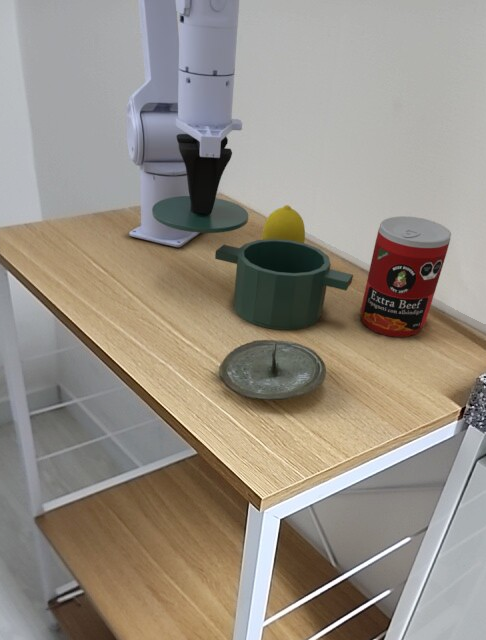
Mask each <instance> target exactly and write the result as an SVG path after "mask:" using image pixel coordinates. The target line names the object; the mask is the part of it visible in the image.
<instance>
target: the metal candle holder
mask: <svg viewBox="0 0 486 640" xmlns="http://www.w3.org/2000/svg"><path fill="white" fill-rule="evenodd" d="M326 373H327V367H326V364H325V361H324V360H323V359H322V358H321V356H320V355H318V353H317V352H316V351H315V350H313V349H312V348H310V347H308V346H306V345H302V344H300V343H297V342H293V341H289V340H288V341H284V340H279V339H278V340H277V339H276V340H274V339H271V340H270V339H259V340H258V339H257V340H253V341H250V342H246V343H244V344H241V345H240V346H237V347H235V348H234V349H233V350H232V351H230V352H229V353H227V355H226V356H225V358H223V360H222V361H221V363H220V365H219V368H218V377H219V378H220V380H221V381H222V383H223V385H224V386H225V387H226V388H227V389H229V390H230V391H232V392H233V393H236V394H237V395H239V396H242V397H244V398H246V399H251V400H257V401H265V402H281V401H289V400H294V399H297V398H300V397H302V396H305V395H308V394H311V393H312V392H314V391H315V390H317V389H318V388H319V387H320V386H321V385H322V384H323V383H324V381H325V379H326V375H327V374H326Z"/></svg>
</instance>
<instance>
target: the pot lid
mask: <svg viewBox="0 0 486 640" xmlns="http://www.w3.org/2000/svg"><path fill="white" fill-rule="evenodd" d="M152 214H153V217H154V218H155V219H156V220H157V221H158V222H160V223H162V224H164V225H166V226H169V227H172V228H175V229H179V230H184V231H190V232H198V233H199V234H201V233H202V234H216V233H217V234H219V233H227V232H231V231H235V230H239V229H241V228H243V227H245V226H246V224H248V222H249V216H250V215H249V212H248V211H247V209H245V208H244V207H243V206H241V205H240V204H238V203H235V202H233V201H230V200H226V199H222V198H217V197H216V198H215V203H214V206H213V210H212V212H211V214H194V213H193V210H192V205H191V201H190V196H179V197H172V198H167V199H164V200H161V201H159V202H157V203H156V204H155V205H154V206H153V208H152Z"/></svg>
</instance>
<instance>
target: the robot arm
mask: <svg viewBox="0 0 486 640" xmlns="http://www.w3.org/2000/svg"><path fill="white" fill-rule="evenodd" d="M137 3H138V14H139V27H140V28H139V29H140V38H141V47H142V59H143V70H144V71H143V72H144V81H145V82H144V83H143V84H142V85H141V86H140V87H138V89H136V90H135V92H133V93H132V94H131V95H130V96H129V99H128V102H127V103H126V104H127V105H126V109H125V110H126V143H127V151H128V155H129V158H130V160H131V161H132V163H133V164H134V165H135V166H138V167H139V176H140V177H139V178H140V179H139V180H140V181H139V183H140V225H139V226H137V227H135V228H134V229H132V230H130V231H129V232H128V235H129V237H132V238H136V239H140V240H144V241H149V242H153V243H156V244H160V245H165V246H170V247H174V248H181V247H183V246H184V245H185V244H187V243H188V242H190V241H191V240H192V239H193V238H195V237H196V236H198V235H199V234H200V233H198V232H190V231H184V230H179V229H175V228H172V227H169V226H166V225H164V224H162V223H160V222H158V221H157V220H156V219H155V218H154V217H153V214H152V208H153V206H154V205H155V204H156V203H157V202H159V201H161V200H164V199H167V198H172V197H179V196H190V201H191V205H192V210H193V213H194V214H211V212H212V210H213V206H214V203H215V198H217V194H218V189H219V186H220V182H221V179H222V176H223V174H224V171H225V169H226V167H227V166H228V164H229V162H230V160H231V159H232V155H233V151H232V149H231V148H227V145H228V143H229V139H228V137H227V136H228V135H229V134H230V133H231V132H232V131H243V121H242V120H241V119H237V118H232V116H233V102H234V101H233V100H234V85H235V71H236V55H237V43H238V42H237V41H238V26H239V14H240V13H239V12H240V0H137ZM178 14H179V22H178Z"/></svg>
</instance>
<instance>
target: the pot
mask: <svg viewBox="0 0 486 640" xmlns="http://www.w3.org/2000/svg"><path fill="white" fill-rule="evenodd" d="M214 256H215V257H214V259H215V260H218V261H222V262H227V263H230V264H235V265H236V271H235V281H234V294H233V309H234V311H235V313H236V314H237V315H238V317H240V318H241V319H243V320H245V322H248V323H250V324H252V325H255V326H257V327H261V328H265V329H271V330H278V331H279V330H280V331H281V330H282V331H294V330H301V329H305V328H309V327H310V326H313V325H314V324H316V323H318V322H319V320H320V318H321V316H322V314H323V309H324V304H325V297H326V292H327V288H328V287H329V288H334V289H338V290H342V291H347V290H348V289H349V287H350V286H351V285H352V283H353V278H354V274H353V273H348V272H344V271H339V270H335V269H331V260H330V257H329V255H328V254H326V253H325V252H324V251H323V250H321V249H320V248H318V247H315V246H313V245H311V244H308V243H305V242H304V243H301V242H296V241H292V240H282V239H265V240H262V239H255V240H253V241H250V242H249V241H248V242H246V243H244V244H242V246H240V247H238V246H232V245H228V244H222V245H220V247H218V248H217V249H216V250H215V255H214Z"/></svg>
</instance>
